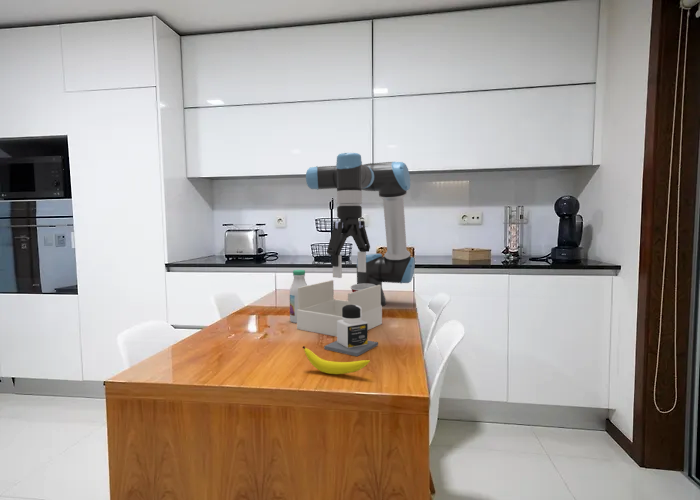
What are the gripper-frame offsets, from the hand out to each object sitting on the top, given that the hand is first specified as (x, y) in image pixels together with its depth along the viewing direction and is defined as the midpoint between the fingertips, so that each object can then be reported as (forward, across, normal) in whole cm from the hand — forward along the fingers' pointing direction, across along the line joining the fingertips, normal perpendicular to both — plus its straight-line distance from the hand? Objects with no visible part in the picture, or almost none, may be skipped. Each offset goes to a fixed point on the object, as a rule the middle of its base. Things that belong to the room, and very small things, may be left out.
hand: (350, 274), depth 124 cm
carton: (+23, -17, -16) cm, 33 cm away
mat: (+23, +1, +1) cm, 23 cm away
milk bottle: (+23, -16, -34) cm, 44 cm away
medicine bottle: (+22, 0, +1) cm, 22 cm away
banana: (+23, +21, +9) cm, 32 cm away
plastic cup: (+23, -38, -19) cm, 49 cm away
